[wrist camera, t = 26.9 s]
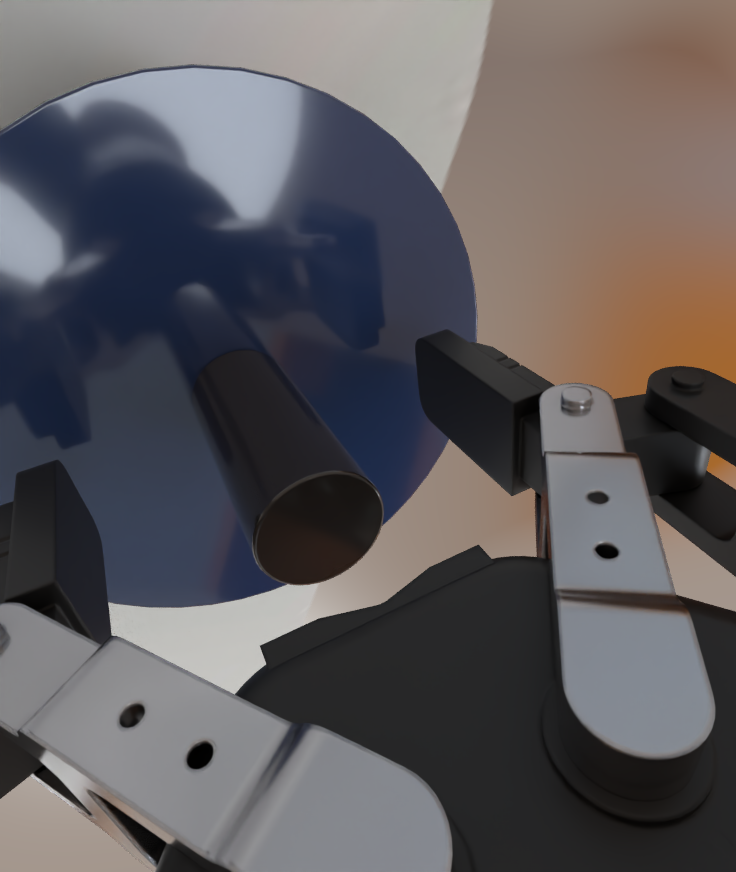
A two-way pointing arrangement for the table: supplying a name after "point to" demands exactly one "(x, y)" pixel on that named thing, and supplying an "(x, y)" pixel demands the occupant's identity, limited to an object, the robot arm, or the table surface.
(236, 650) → the table surface
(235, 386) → the lid
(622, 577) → the robot arm
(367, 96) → the table surface
